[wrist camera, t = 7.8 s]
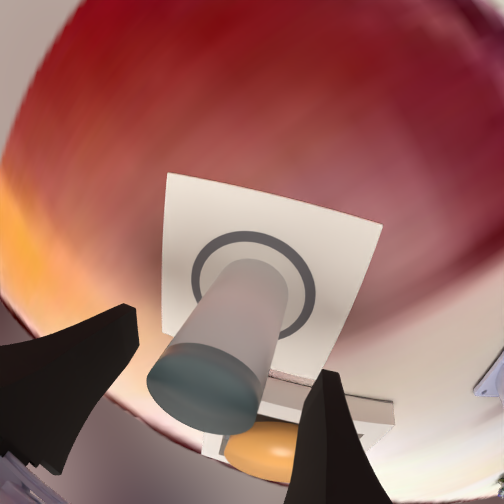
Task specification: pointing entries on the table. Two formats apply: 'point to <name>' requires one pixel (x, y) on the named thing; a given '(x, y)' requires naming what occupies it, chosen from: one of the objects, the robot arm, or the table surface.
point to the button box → (290, 408)
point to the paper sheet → (266, 260)
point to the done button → (264, 450)
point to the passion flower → (503, 490)
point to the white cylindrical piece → (223, 351)
